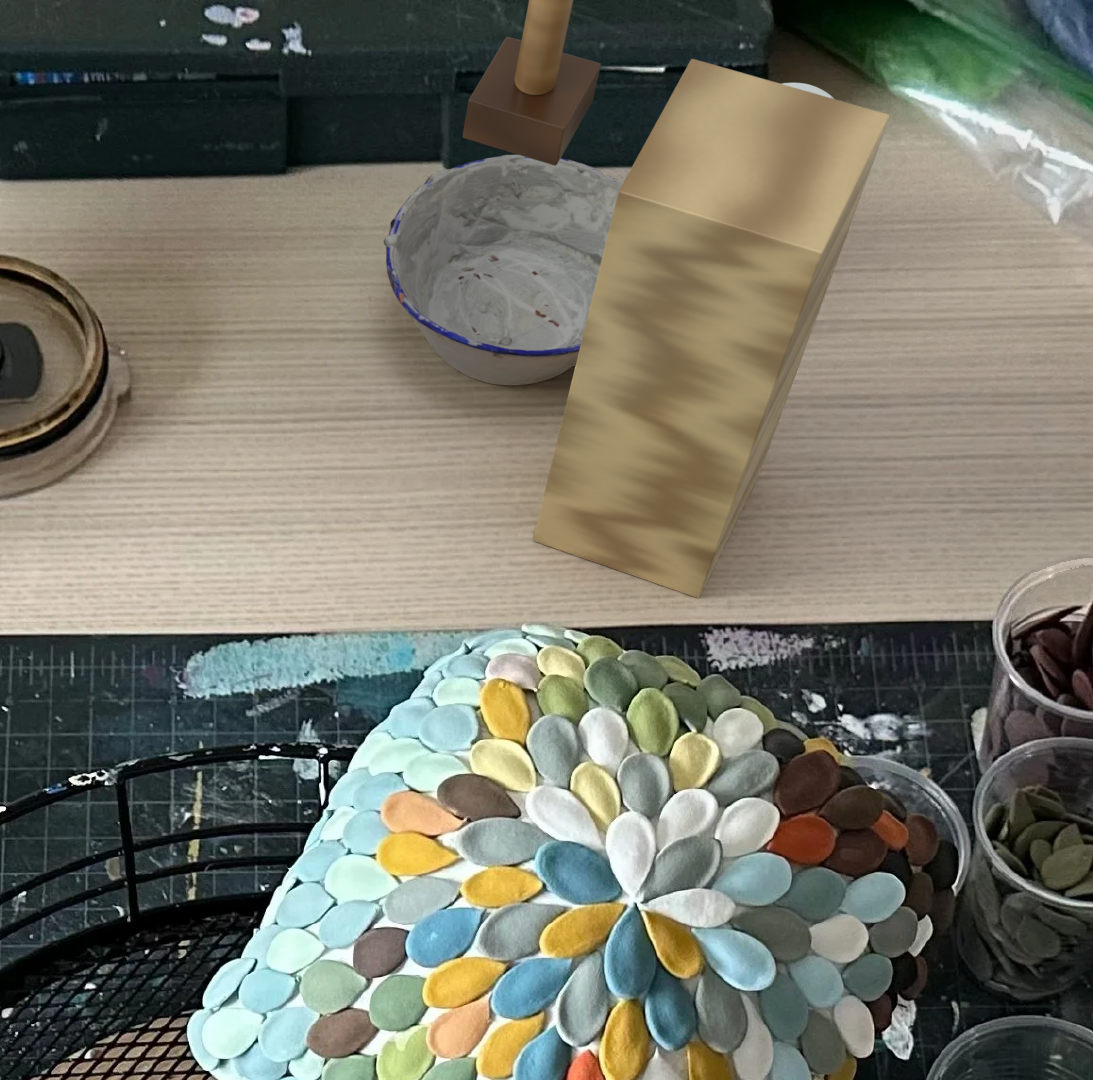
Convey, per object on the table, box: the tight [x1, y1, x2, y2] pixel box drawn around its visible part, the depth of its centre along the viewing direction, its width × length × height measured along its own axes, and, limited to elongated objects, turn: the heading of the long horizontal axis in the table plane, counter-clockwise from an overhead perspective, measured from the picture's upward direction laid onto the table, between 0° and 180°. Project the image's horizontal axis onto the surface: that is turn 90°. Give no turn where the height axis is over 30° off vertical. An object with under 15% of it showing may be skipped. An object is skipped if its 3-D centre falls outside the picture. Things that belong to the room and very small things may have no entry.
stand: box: [532, 58, 891, 599], centre depth 97 cm, size 8×8×20 cm
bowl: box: [383, 154, 623, 386], centre depth 109 cm, size 13×13×5 cm
